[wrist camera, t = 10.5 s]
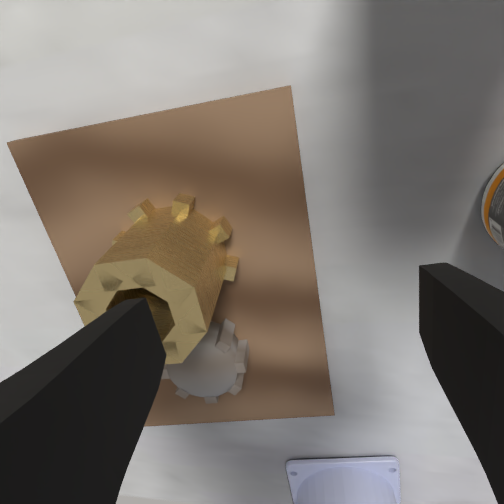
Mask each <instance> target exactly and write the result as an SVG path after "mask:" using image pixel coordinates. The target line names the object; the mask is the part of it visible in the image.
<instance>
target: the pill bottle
mask: <svg viewBox="0 0 504 504" xmlns="http://www.w3.org/2000/svg"><path fill="white" fill-rule="evenodd" d="M481 214H482V220H483V223H484V226H485V228H486V230H487V232H488V233H489V235H490V236H491V237H492V238H493V240H494V241H495V242H496V243H497V244H498V245H499V246H500V247H501V248H502V249H504V163H503V164H502V165H501V166H500V168H499V169H498V170H497V171H496V172H495V173H494V175H493V177H492V178H491V180H490V181H489V183H488V184H487V186H486V189H485V192H484V194H483V199H482V207H481Z"/></svg>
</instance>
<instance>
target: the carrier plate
mask: <svg viewBox="0 0 504 504" xmlns="http://www.w3.org/2000/svg"><path fill="white" fill-rule="evenodd" d="M7 145H8V147H9V149H10V152H11V154H12V156H13V158H14V160H15V163H16V165H17V167H18V169H19V172H20V174H21V176H22V178H23V180H24V183H25V185H26V187H27V189H28V191H29V194H30V196H31V198H32V200H33V203H34V205H35V207H36V209H37V211H38V214H39V216H40V218H41V220H42V223H43V225H44V227H45V229H46V231H47V234H48V236H49V238H50V240H51V243H52V245H53V247H54V249H55V251H56V254H57V256H58V258H59V260H60V262H61V265H62V267H63V269H64V271H65V274H66V276H67V278H68V280H69V282H70V285H71V287H72V289H73V291H74V294H75V296H76V297H77V295H78V293H79V291H80V289H81V288H82V286H83V284H84V282H85V280H86V279H87V277H88V275H89V273H90V271H91V270H92V268H93V266H94V264H95V263H96V262H97V261H98V260H99V259H100V258H101V257H102V256H103V255H104V254H105V253H106V252H107V251H108V250H109V249H110V248H111V247H112V240H113V239H114V238H115V237H116V236H117V235H118V234H119V233H120V232H121V231H125V232H126V231H127V230H128V229H129V228H130V227H131V226H132V225H133V224H134V222H133V221H132V220H131V219H130V217H129V216H128V215H127V214H128V213H129V212H130V211H131V210H132V209H133V208H134V207H135V206H137V205H138V204H140V203H141V202H143V201H144V200H146V199H147V198H148V199H149V201H150V202H151V203H152V205H153V206H154V207H155V209H157V208H164V207H170V206H172V204H173V200H174V199H175V198H176V197H177V195H178V194H179V193H182V194H186V195H190V196H195V201H194V208H193V209H194V210H196V211H197V212H199V213H201V214H202V215H204V216H205V217H207V218H208V219H210V220H211V221H213V222H214V221H216V220H217V219H219V218H221V217H222V216H224V217H225V218H226V219H227V221H228V222H229V224H230V225H231V227H232V228H233V229H232V231H231V234H230V237H229V238H228V239H226V240H224V244H225V248H226V252H227V255H230V256H235V257H239V261H238V265H237V270H236V274H235V278H234V282H233V281H229V280H225V279H224V280H223V283H222V286H221V289H220V293H219V296H218V299H217V302H216V306H215V309H214V312H213V315H212V319H211V322H210V325H209V328H208V332H207V333H206V334H205V335H204V336H203V338H202V339H201V340H200V341H199V343H198V344H197V345H196V346H195V348H194V349H193V350H192V351H191V352H190V354H189V355H188V356H187V357H186V359H185V360H184V361H183V362H182V363H177V364H165V365H164V369H163V374H162V377H161V381H160V385H159V389H158V391H157V394H156V397H155V399H154V402H153V405H152V407H151V410H150V412H149V415H148V417H147V420H146V422H145V425H144V426H160V425H177V424H194V423H212V422H229V421H246V420H263V419H280V418H297V417H314V416H331V415H334V408H333V400H332V392H331V385H330V377H329V370H328V362H327V355H326V347H325V340H324V332H323V325H322V317H321V309H320V302H319V294H318V287H317V279H316V272H315V264H314V257H313V249H312V242H311V234H310V227H309V219H308V212H307V204H306V196H305V189H304V181H303V174H302V166H301V159H300V151H299V144H298V136H297V129H296V121H295V114H294V106H293V98H292V91H291V85H290V86H285V87H280V88H275V89H270V90H265V91H260V92H255V93H250V94H245V95H240V96H235V97H230V98H225V99H220V100H215V101H210V102H205V103H200V104H195V105H190V106H185V107H180V108H175V109H170V110H165V111H160V112H154V113H149V114H144V115H139V116H134V117H129V118H124V119H119V120H114V121H109V122H104V123H99V124H94V125H89V126H84V127H79V128H74V129H69V130H64V131H59V132H54V133H49V134H44V135H39V136H34V137H29V138H24V139H19V140H15V141H11V142H7Z"/></svg>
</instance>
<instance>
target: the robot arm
mask: <svg viewBox="0 0 504 504" xmlns="http://www.w3.org/2000/svg"><path fill="white" fill-rule="evenodd" d="M419 333H420V336H421V339H422V342H423V344H424V347H425V350H426V353H427V356H428V358H429V361H430V364H431V366H432V369H433V371H434V373H435V375H436V377H437V379H438V381H439V383H440V385H441V387H442V388H443V390H444V392H445V394H446V396H447V398H448V400H449V402H450V404H451V406H452V408H453V410H454V412H455V414H456V415H457V417H458V419H459V421H460V423H461V425H462V427H463V429H464V431H465V433H466V435H467V437H468V438H469V440H470V442H471V444H472V446H473V448H474V450H475V452H476V454H477V456H478V458H479V460H480V462H481V465H482V467H483V469H484V471H485V473H486V475H487V478H488V480H489V483H490V485H491V488H492V490H493V493H494V495H495V497H496V500H497V502H498V504H504V292H503V291H501V290H499V289H497V288H495V287H493V286H491V285H489V284H487V283H485V282H484V281H482V280H480V279H478V278H476V277H474V276H472V275H470V274H468V273H466V272H464V271H463V270H461V269H459V268H457V267H455V266H453V265H450V264H448V263H437V264H429V265H420V266H419ZM166 356H167V355H166V352H165V349H164V346H163V344H162V341H161V338H160V335H159V333H158V330H157V327H156V324H155V321H154V319H153V316H152V313H151V310H150V308H149V305H148V302H147V299H146V297H145V298H137V299H128V300H124V301H122V302H121V303H119V304H117V305H115V306H114V307H112V308H111V309H109V310H108V311H106V312H105V313H103V314H102V315H100V316H99V317H98V318H96V319H95V320H93V321H92V322H90V323H89V324H88V325H86V326H85V327H83V328H82V329H81V330H79V331H78V332H76V333H75V334H73V335H72V336H71V337H69V338H68V339H66V340H65V341H64V342H62V343H61V344H59V345H58V346H56V347H55V348H53V349H52V350H50V351H49V352H47V353H46V354H44V355H43V356H41V357H40V358H38V359H37V360H35V361H34V362H32V363H31V364H29V365H28V366H26V367H25V368H23V369H22V370H20V371H19V372H17V373H15V374H14V375H12V376H10V377H9V378H7V379H5V380H4V381H2V382H1V383H0V504H116V501H117V497H118V494H119V490H120V487H121V484H122V481H123V478H124V476H125V473H126V470H127V467H128V465H129V462H130V460H131V457H132V455H133V452H134V450H135V447H136V445H137V442H138V440H139V437H140V435H141V432H142V430H143V427H144V425H145V422H146V420H147V417H148V415H149V412H150V410H151V407H152V405H153V402H154V399H155V397H156V394H157V391H158V389H159V385H160V381H161V377H162V374H163V369H164V365H165V360H166ZM286 471H287V476H288V480H289V484H290V489H291V493H292V498H293V502H294V504H401V497H400V468H399V461H398V459H397V458H396V457H394V456H382V457H357V458H332V459H308V460H290V461H288V462H287V463H286Z"/></svg>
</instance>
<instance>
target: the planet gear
mask: <svg viewBox="0 0 504 504" xmlns="http://www.w3.org/2000/svg"><path fill="white" fill-rule="evenodd" d="M194 201H195V196H190V195H186V194H182V193H179V194H178V195H177V197H176V198H175V199H174V200H173V204H172V206H170V207H164V208H157V209H155V207H154V206H153V205H152V203H151V202H150V201H149V199H148V198H147V199H146V200H144V201H143V202H141V203H140V204H138V205H137V206H135V207H134V208H133V209H132V210H131V211H130V212H129V213H128V214H127V215H128V216H129V217H130V219H131V220H132V221H133V222H134V224H133V225H132V226H131V227H130V228H129V229H128V230H127V231H126V232H125V231H121V232H120V233H119V234H118V235H117V236H116V237H115V238H114V239H113V240H112V247H111V248H110V249H109V250H108V251H107V252H106V253H105V254H104V255H103V256H102V257H101V258H100V259H99V260H98V261H97V262H96V263H95V264H94V266H93V268H92V270H91V271H90V273H89V275H88V277H87V279H86V280H85V282H84V284H83V286H82V288H81V289H80V291H79V293H78V295H77V297H76V298H75V300H74V304H75V306H76V308H77V310H78V312H79V315H80V317H81V319H82V321H83V323H84V326H86V325H88V324H89V323H90V322H92V321H93V320H95V319H96V318H98V317H99V316H100V315H102V314H103V313H105V312H106V311H108V310H109V309H111V308H112V307H114V306H115V305H117V304H119V303H121V302H122V301H124V300H128V299H137V298H145V297H146V299H147V302H148V305H149V308H150V310H151V313H152V316H153V319H154V321H155V324H156V327H157V330H158V333H159V335H160V338H161V341H162V344H163V346H164V349H165V352H166V355H167V356H166V360H165V364H177V363H182V362H183V361H184V360H185V359H186V357H187V356H188V355H189V354H190V352H191V351H192V350H193V349H194V348H195V346H196V345H197V344H198V343H199V341H200V340H201V339H202V338H203V336H204V335H205V334H206V333H207V332H208V328H209V325H210V322H211V319H212V315H213V312H214V309H215V306H216V302H217V299H218V296H219V293H220V289H221V286H222V283H223V280H224V279H225V280H229V281H233V282H234V278H235V274H236V270H237V265H238V261H239V257H235V256H230V255H227V252H226V248H225V244H224V240H226V239H228V238H229V237H230V234H231V231H232V229H233V228H232V227H231V225H230V224H229V222H228V221H227V219H226V218H225V217H224V216H222V217H221V218H219V219H217V220H216V221H214V222H213V221H211V220H210V219H208V218H207V217H205V216H204V215H202V214H201V213H199V212H197V211H196V210H194V209H193V208H194Z"/></svg>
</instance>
